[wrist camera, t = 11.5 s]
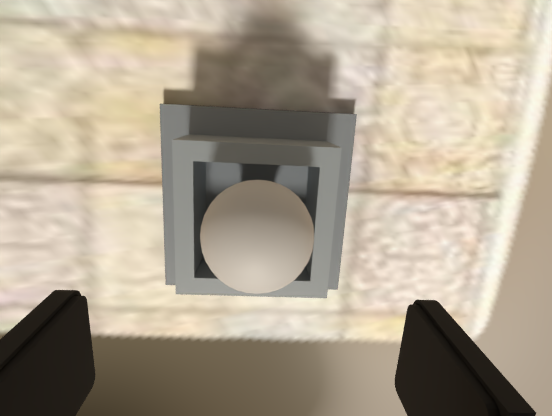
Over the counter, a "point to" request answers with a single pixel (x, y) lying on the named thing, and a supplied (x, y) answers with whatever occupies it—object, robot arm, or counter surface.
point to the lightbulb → (257, 236)
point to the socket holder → (253, 166)
